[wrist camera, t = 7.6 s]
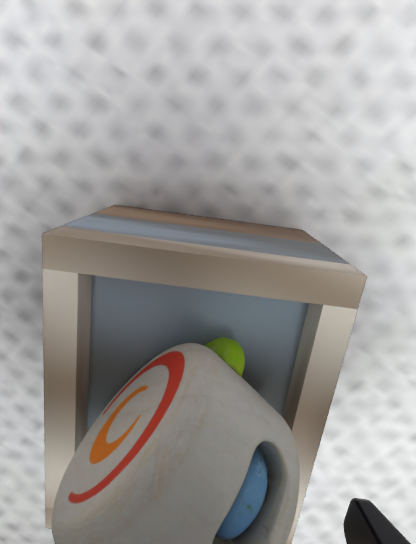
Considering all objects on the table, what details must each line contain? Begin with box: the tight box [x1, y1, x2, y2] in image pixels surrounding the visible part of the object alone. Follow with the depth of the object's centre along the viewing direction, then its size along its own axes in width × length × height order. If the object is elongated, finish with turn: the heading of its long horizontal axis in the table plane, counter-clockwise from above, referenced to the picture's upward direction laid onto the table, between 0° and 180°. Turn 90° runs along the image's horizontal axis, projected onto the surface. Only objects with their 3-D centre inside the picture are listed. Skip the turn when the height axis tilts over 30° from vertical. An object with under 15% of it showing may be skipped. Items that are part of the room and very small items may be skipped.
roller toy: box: [51, 337, 300, 544], centre depth 9 cm, size 4×6×6 cm
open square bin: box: [42, 205, 367, 544], centre depth 14 cm, size 11×9×7 cm
